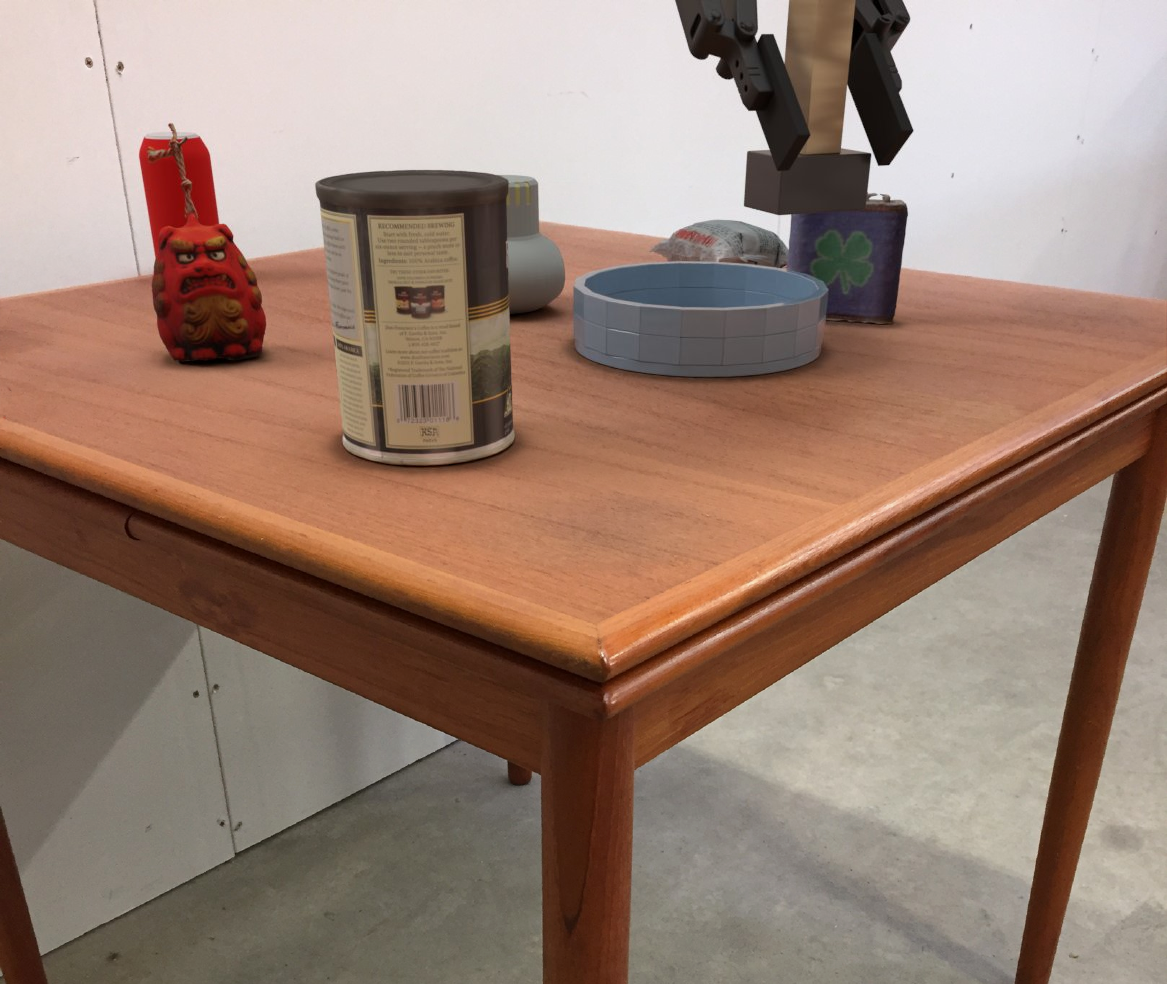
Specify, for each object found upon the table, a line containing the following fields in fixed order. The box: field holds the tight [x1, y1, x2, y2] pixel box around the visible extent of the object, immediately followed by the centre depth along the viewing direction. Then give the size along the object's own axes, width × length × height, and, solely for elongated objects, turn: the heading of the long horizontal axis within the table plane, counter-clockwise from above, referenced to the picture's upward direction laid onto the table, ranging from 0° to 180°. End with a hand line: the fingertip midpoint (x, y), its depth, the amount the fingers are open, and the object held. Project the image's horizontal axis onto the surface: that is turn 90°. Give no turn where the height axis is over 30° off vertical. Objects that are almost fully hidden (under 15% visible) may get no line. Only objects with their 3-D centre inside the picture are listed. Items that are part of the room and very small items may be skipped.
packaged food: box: [648, 219, 789, 269], centre depth 118 cm, size 9×12×5 cm
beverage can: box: [138, 131, 220, 258], centre depth 115 cm, size 6×6×12 cm
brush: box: [743, 0, 872, 216], centre depth 71 cm, size 6×4×13 cm, turn 114°
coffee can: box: [314, 169, 516, 466], centre depth 71 cm, size 10×10×14 cm
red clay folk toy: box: [147, 122, 267, 363], centre depth 89 cm, size 8×7×15 cm
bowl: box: [572, 261, 829, 378], centre depth 94 cm, size 19×19×4 cm
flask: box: [785, 191, 909, 325], centre depth 102 cm, size 9×3×11 cm, turn 71°
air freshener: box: [498, 174, 566, 315], centre depth 104 cm, size 11×8×10 cm
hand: (845, 150), depth 70 cm, fingers closed on brush, 6 cm apart
